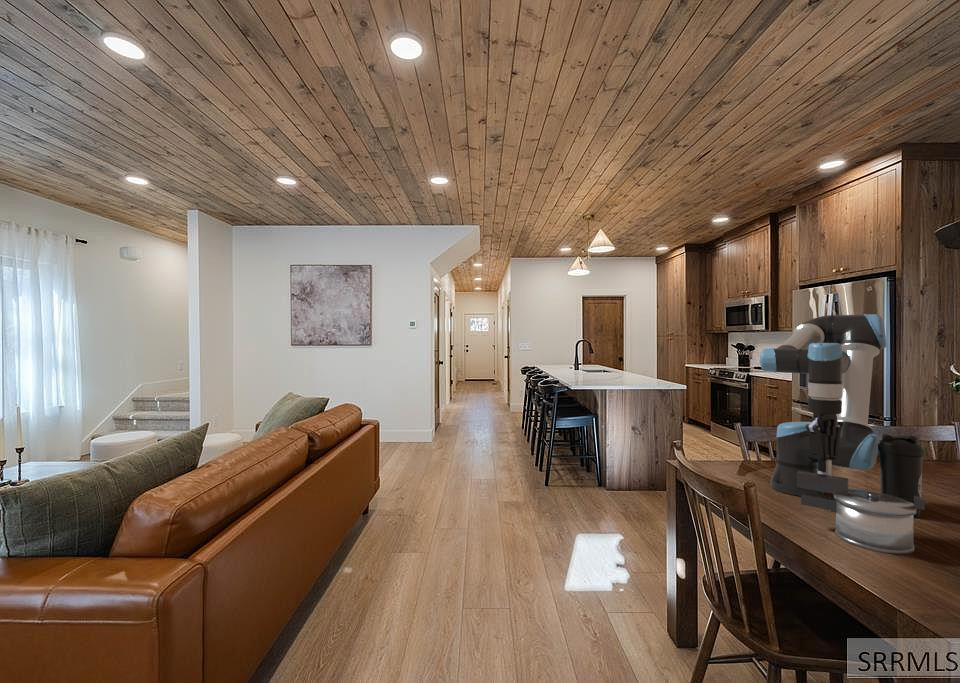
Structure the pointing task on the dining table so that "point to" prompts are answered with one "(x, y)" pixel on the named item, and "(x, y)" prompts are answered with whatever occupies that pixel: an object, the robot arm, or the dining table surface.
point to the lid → (859, 495)
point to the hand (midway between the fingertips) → (824, 482)
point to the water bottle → (901, 467)
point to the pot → (867, 526)
